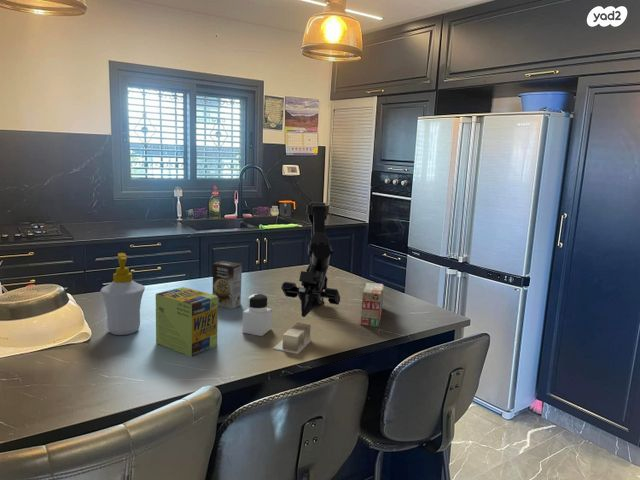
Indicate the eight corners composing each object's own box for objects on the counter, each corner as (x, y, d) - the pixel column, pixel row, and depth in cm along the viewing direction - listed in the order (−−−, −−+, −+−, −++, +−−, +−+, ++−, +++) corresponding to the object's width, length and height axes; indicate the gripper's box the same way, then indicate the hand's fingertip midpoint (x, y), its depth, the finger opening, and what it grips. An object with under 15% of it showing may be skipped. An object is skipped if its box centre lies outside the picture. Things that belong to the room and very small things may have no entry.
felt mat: (287, 336, 151) (287, 335, 151) (311, 340, 148) (311, 339, 148) (272, 348, 140) (273, 348, 140) (297, 354, 138) (297, 353, 138)
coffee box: (211, 305, 177) (211, 263, 174) (221, 300, 182) (221, 260, 180) (232, 309, 173) (233, 266, 170) (241, 304, 179) (242, 263, 176)
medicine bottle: (271, 329, 156) (272, 294, 154) (262, 336, 149) (263, 300, 147) (252, 325, 158) (253, 291, 156) (242, 332, 152) (242, 297, 149)
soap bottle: (103, 341, 140) (100, 260, 135) (100, 326, 151) (98, 251, 146) (148, 335, 146) (146, 257, 141) (142, 321, 157) (141, 249, 152)
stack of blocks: (366, 306, 184) (368, 276, 182) (382, 308, 183) (384, 277, 181) (360, 325, 164) (362, 291, 161) (378, 327, 163) (381, 293, 160)
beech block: (297, 322, 150) (283, 334, 139) (310, 324, 148) (297, 337, 138) (296, 336, 150) (282, 348, 140) (309, 338, 149) (296, 351, 139)
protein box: (191, 357, 132) (191, 304, 130) (155, 343, 140) (154, 293, 137) (218, 345, 141) (218, 295, 138) (182, 333, 149) (182, 285, 146)
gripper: (284, 257, 152) (268, 299, 144) (339, 264, 146) (326, 308, 138) (293, 275, 161) (278, 316, 153) (345, 282, 155) (333, 325, 147)
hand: (303, 316), depth 147 cm, fingers closed
